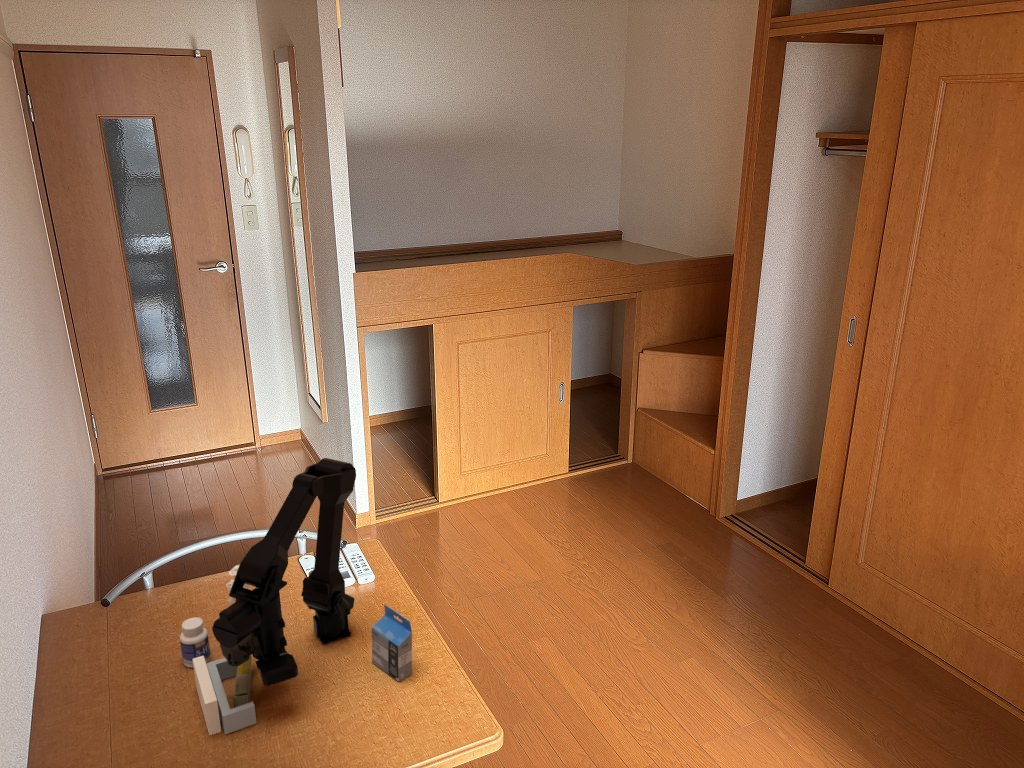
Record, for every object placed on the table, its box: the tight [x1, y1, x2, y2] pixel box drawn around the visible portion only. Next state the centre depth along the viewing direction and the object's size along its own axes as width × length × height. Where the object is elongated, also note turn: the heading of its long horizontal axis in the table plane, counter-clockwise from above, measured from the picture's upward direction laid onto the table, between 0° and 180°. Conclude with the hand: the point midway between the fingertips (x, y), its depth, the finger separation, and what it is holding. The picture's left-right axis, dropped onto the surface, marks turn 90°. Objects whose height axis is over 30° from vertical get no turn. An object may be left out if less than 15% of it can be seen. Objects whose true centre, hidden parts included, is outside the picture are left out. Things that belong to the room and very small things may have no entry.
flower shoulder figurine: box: [225, 564, 250, 605], centre depth 170 cm, size 9×4×12 cm, turn 173°
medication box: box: [233, 655, 254, 708], centre depth 145 cm, size 12×3×4 cm, turn 15°
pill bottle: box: [179, 616, 211, 669], centre depth 153 cm, size 5×5×9 cm
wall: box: [193, 656, 222, 737], centre depth 140 cm, size 2×14×7 cm, turn 30°
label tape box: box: [371, 604, 413, 682], centre depth 151 cm, size 9×4×12 cm, turn 47°
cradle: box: [206, 657, 257, 735], centre depth 142 cm, size 6×16×4 cm, turn 31°
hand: (273, 683), depth 147 cm, fingers closed
